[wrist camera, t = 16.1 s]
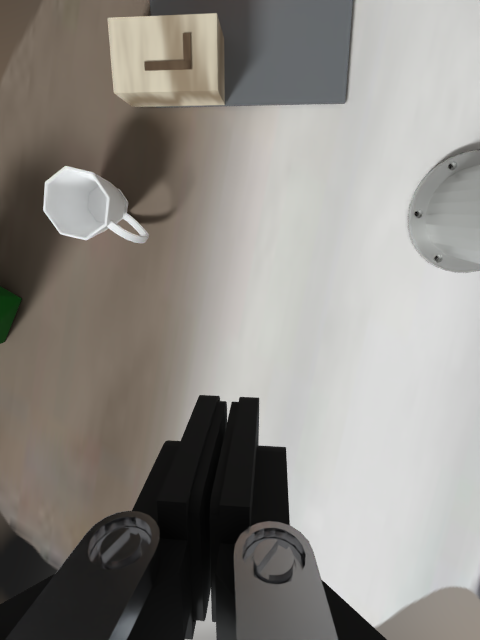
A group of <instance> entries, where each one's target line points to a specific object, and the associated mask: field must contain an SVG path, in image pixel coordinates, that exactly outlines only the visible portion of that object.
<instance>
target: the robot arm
mask: <svg viewBox="0 0 480 640" xmlns="http://www.w3.org/2000/svg"><path fill="white" fill-rule="evenodd" d="M449 164H450V165H451V168H450V169H449V168H448V165H449ZM416 211H417V212H418V215H417V216H415V215H414V213H415V212H416ZM408 230H409V235H410V239H411V241H412V243H413V245H414V248H415V249H416V250H417V252H418V253H419V254H420V256H421V257H423V258H424V259H425V260H426V261H427V262H428V263H430V264H432V265H434V266H436V267H438V268H441V269H443V270H446V271H451V272H458V273H468V272H474V271H480V150H474V151H468V152H465V153H461V154H458V155H456V156H453V157H451V158H448V159H447V160H445V161H444V162H442V163H440V164H439V165H437V166H436V167H435V168H434V169H433V170H432V171H430V172H429V173H428V174H427V175H426V177H425V178H424V179H423V180H422V181H421V183H420V184H419V186H418V188H417V189H416V191H415V193H414V195H413V198H412V200H411V203H410V207H409V212H408ZM435 256H437V259H436V260H434V258H435ZM258 435H259V398H250V397H240V398H239V402H232V404H231V408H230V413H229V417H228V422H227V402H225V401H220V397H219V396H207V395H200V396H199V398H198V400H197V402H196V405H195V407H194V410H193V412H192V415H191V417H190V420H189V422H188V425H187V427H186V430H185V432H184V434H183V437H182V439H181V441H166V442H165V443H164V445H163V447H162V449H161V451H160V453H159V455H158V457H157V459H156V461H155V463H154V466H153V468H152V470H151V472H150V474H149V476H148V478H147V480H146V482H145V484H144V487H143V489H142V491H141V493H140V495H139V497H138V499H137V501H136V503H135V506H134V508H133V510H132V511H125V512H119V513H116V514H113V515H111V516H108V517H106V518H104V519H103V520H101V521H100V522H98V523H97V524H95V525H94V526H93V527H92V528H91V529H90V530H89V531H88V532H87V533H86V535H85V536H84V537H83V539H82V540H81V541H80V542H79V544H78V545H77V546H76V548H75V549H74V550H73V552H72V553H71V554H70V556H69V557H68V558H67V559H66V561H65V562H64V563H63V565H62V566H61V567H60V569H59V570H58V571H57V572H56V573H55V574H54V575H52V576H50V577H48V578H47V579H45V580H43V581H41V582H39V583H38V584H36V585H34V586H32V587H30V588H29V589H27V590H25V591H24V592H22V593H20V594H18V595H16V596H14V597H13V598H11V599H9V600H7V601H5V602H4V603H2V604H0V640H184V639H193V634H194V629H195V624H196V620H200V621H204V620H205V618H206V613H207V607H208V601H209V595H210V589H211V601H212V621H213V622H216V632H217V640H386V639H385V638H384V637H383V636H382V635H381V634H380V633H379V632H378V631H377V630H376V629H375V628H374V627H372V626H371V625H370V624H369V623H368V622H367V621H366V620H365V619H364V618H363V617H362V616H360V615H359V614H358V613H357V612H356V611H355V610H354V609H353V608H352V607H351V606H350V605H349V604H347V603H346V602H345V601H344V600H343V599H342V598H341V597H340V596H339V595H338V594H337V593H335V592H334V591H333V590H332V589H331V588H330V587H329V586H328V585H327V584H326V583H325V582H323V581H322V580H321V577H320V573H319V570H318V566H317V563H316V559H315V556H314V552H313V550H312V548H311V545H310V543H309V541H308V540H307V539H306V538H305V537H304V535H303V534H302V533H301V532H299V531H298V530H296V529H295V528H293V527H292V526H290V524H289V503H288V482H287V461H286V447H273V446H258Z"/></svg>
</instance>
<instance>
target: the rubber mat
mask: <svg viewBox="0 0 480 640" xmlns="http://www.w3.org/2000/svg"><path fill="white" fill-rule="evenodd" d="M352 5H353V0H150V12H151V16H164V15H187V14H210V13H217V16H218V19H219V23H220V26H221V29H222V33H223V36H224V79H225V105H205V106H160V107H157V108H161V107H207V106H253V105H299V104H345V99H346V85H347V72H348V58H349V45H350V31H351V18H352Z"/></svg>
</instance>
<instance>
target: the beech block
mask: <svg viewBox="0 0 480 640" xmlns="http://www.w3.org/2000/svg"><path fill="white" fill-rule="evenodd" d="M108 29H109V41H110V53H111V65H112V77H113V89H114V93H115V94H116V95H117V96H119V97H120V98H121V99H123V100H124V101H125V102H127V103H128V104H130V105H131V106H132V107H160V106H205V105H225V79H224V36H223V33H222V29H221V26H220V23H219V19H218V16H217V13H210V14H187V15H164V16H141V17H118V18H108Z"/></svg>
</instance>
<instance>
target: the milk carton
mask: <svg viewBox="0 0 480 640" xmlns="http://www.w3.org/2000/svg"><path fill="white" fill-rule="evenodd" d="M21 300H22V298H20V297H18V296H17V295H15V294H13V293H11V292H10V291H8V290H6V289H4V288H2V287H1V286H0V344H1V343H3V342H5V340H6V337H7V335H8V332H9V330H10V327H11V325H12V322H13V320H14V317H15V315H16V312H17V310H18V307H19V305H20V302H21Z"/></svg>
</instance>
